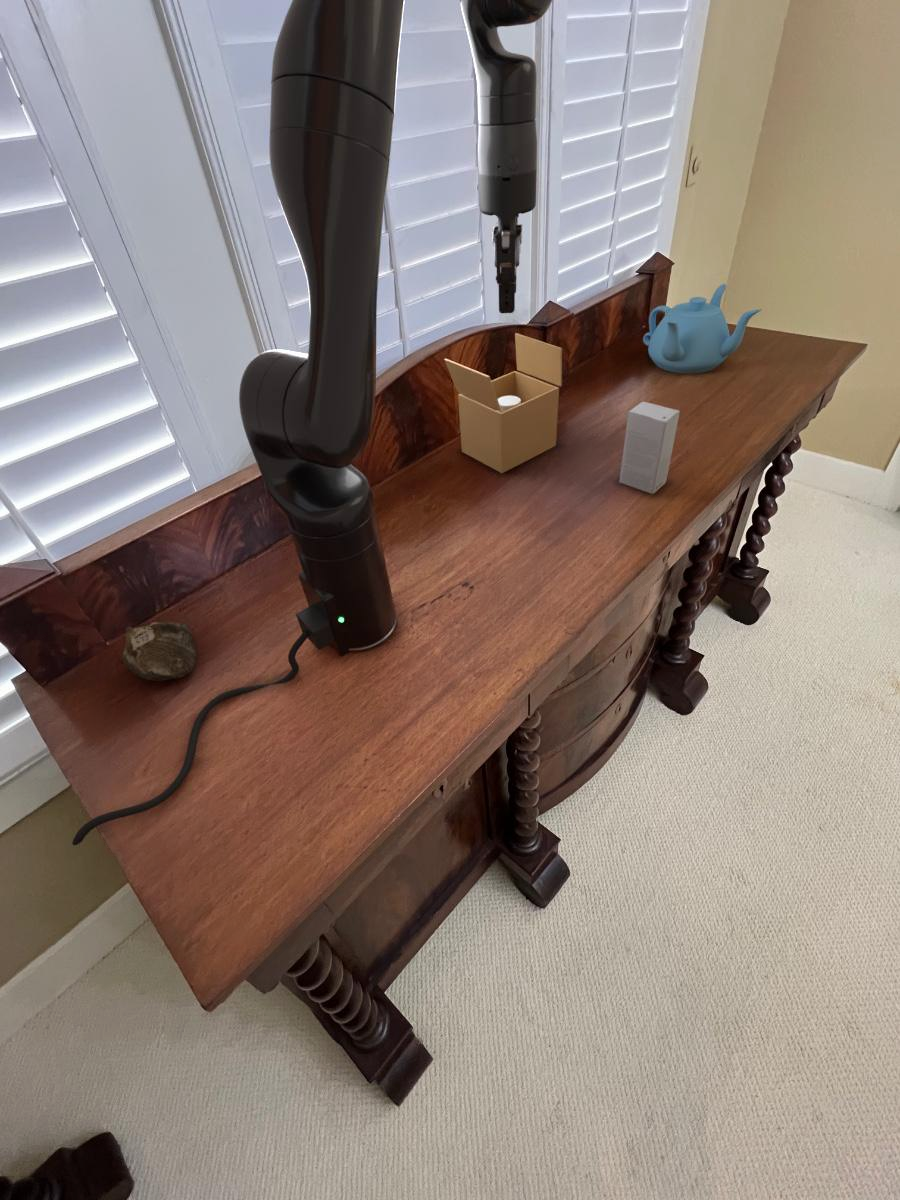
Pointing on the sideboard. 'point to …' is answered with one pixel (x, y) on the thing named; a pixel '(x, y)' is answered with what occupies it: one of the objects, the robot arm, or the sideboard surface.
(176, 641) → the fossilized seashell
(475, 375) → the flap
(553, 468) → the sideboard surface
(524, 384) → the carton
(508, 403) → the supplement bottle
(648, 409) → the cosmetic box
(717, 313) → the teapot
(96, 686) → the sideboard surface
